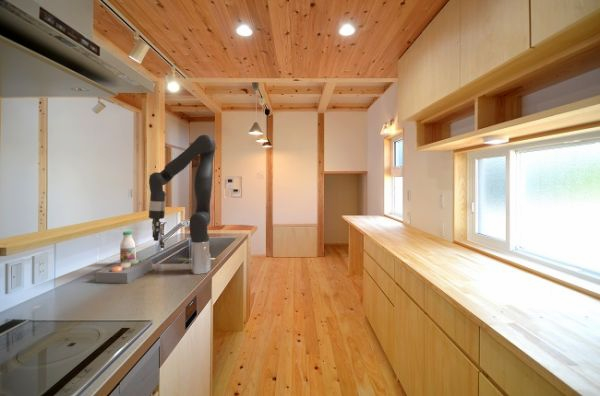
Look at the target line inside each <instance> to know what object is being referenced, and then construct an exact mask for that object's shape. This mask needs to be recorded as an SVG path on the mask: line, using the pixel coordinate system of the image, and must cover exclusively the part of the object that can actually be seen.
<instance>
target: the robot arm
mask: <svg viewBox="0 0 600 396" xmlns="http://www.w3.org/2000/svg"><path fill="white" fill-rule="evenodd" d="M216 146H217V145H216V141H215V139H213V137H211V136H210V135H208V134H202V135H199V136H198V137H196V139H195V140H194V141H193V142H192V143H191V144H190V146H189V145H188V147H187V148H186V149H185V150H184V151H182V152H181V153H180V154H179V155H178V156H176V157H175V158H173V159H172V160H171V161H169V162H168V163H167V164H165V166H164V168H163V170H161V171H160V172H152V173H151V174H150V175H149V179H148V185H149V191H150V196H149V208H148V218H149V219H152V221H151V230H152V238H153V241H154V242H157V241H159V239H160V238H159V236H160V232H161V231H160V230H161V225H162V224H161V223H162V222H161V221H160V220H162V219H164V218H165V214H166V212H165V210H166V192H165V191H164V187H163V186H165V185H166V184H168V183H169V182H170V181H172V180H173V179H174V177H175V176H176V175H178V174H180V172H182V171H183V170H184V169H185V168H187V167H188V166H189V165H190V163H191V162H192V161H193V160H194V159H196V158H197V157H198V156H199V163H198V166H197V168H196V172H195V174H194V182H193V183H194V187H193V189H194V195H195V201H196V206H195V207H196V208H195V213H193V214H192V215H191V216H190V218H189V237H190V238H191V239H190V240H191V241H190V243H191V247H190V248H191V253H190V254H191V273H192V274H194V275H201V274H203V275H204V274H208V272H210V271H211V253H210V236H209V234H208V225H210V222H211V198H212V197H211V196H212V190H213V177H214V176H213V175H214V170H213V169H214V157H215V152H216Z"/></svg>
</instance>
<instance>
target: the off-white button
mask: <svg viewBox="0 0 600 396" xmlns="http://www.w3.org/2000/svg"><path fill="white" fill-rule="evenodd" d="M121 266H122V268H128V267H130V266H131V262H125V263H121Z"/></svg>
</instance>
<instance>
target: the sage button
mask: <svg viewBox="0 0 600 396" xmlns="http://www.w3.org/2000/svg"><path fill="white" fill-rule="evenodd" d="M129 262H131V264H137V263H139V258H136V259H131V260H129Z"/></svg>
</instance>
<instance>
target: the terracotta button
mask: <svg viewBox="0 0 600 396" xmlns="http://www.w3.org/2000/svg"><path fill="white" fill-rule="evenodd" d="M119 271H122V266H115V267H112V272H119Z"/></svg>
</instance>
